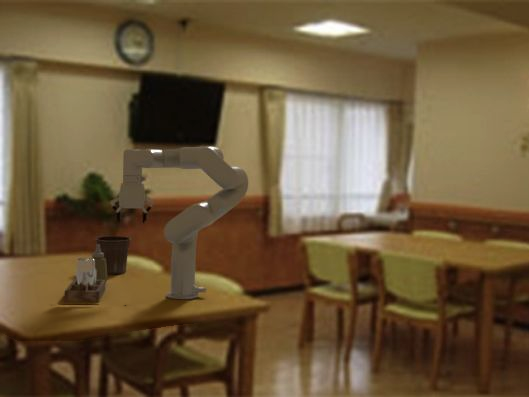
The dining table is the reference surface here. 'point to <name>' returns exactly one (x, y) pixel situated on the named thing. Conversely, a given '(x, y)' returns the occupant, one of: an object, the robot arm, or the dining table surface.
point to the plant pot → (114, 252)
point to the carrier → (84, 293)
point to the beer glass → (85, 273)
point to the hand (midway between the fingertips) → (131, 222)
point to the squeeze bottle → (100, 264)
